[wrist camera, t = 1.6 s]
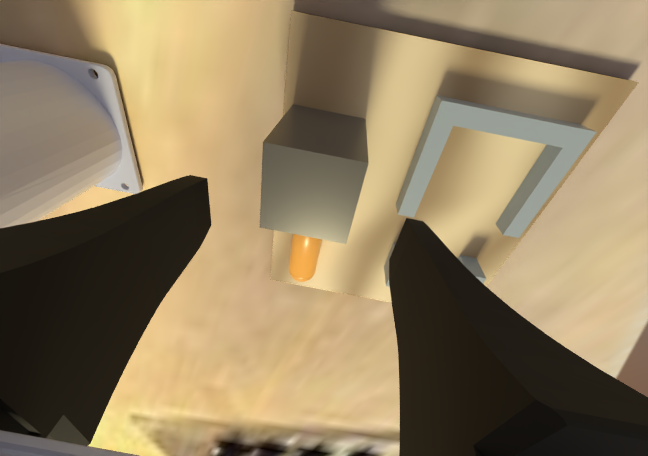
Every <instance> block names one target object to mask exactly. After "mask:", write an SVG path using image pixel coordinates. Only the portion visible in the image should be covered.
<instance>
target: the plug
mask: <svg viewBox="0 0 648 456" xmlns="http://www.w3.org/2000/svg"><path fill="white" fill-rule="evenodd" d="M368 163H369V161H368V146H367V131H366V119H364V118H359V117H354V116H349V115H344V114H340V113H335V112H330V111H325V110H320V109H315V108H310V107H305V106H300V105H295V104H293V105H292V106H291V108H290V109H289V110H288V111H287V113H286V114H285V115H284V116H283V118H282V119H281V120H280V121H279V123H278V124H277V125H276V126H275V128H274V129H273V130H272V132H271V133H270V134H269V135H268V137H267V138H266V139H265V140H264V142H263V158H262V183H261V209H260V228H265V229H271V230H276V231H281V232H286V233H291V234H293V238H292V246H291V254H290V262H289V273H290V275H291V276H292V278H293V279H295V280H296V281H299V282H305V281H308V280H310V279H311V278H312V277H313V276H314V274H315V271H316V267H317V262H318V257H319V252H320V247H321V243H322V240H328V241H333V242H338V243H343V244H346V243H347V239H348V236H349V232H350V229H351V225H352V221H353V218H354V214H355V211H356V207H357V203H358V200H359V196H360V192H361V189H362V185H363V182H364V178H365V174H366V171H367V167H368Z"/></svg>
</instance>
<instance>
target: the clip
mask: <svg viewBox="0 0 648 456" xmlns="http://www.w3.org/2000/svg"><path fill="white" fill-rule="evenodd" d="M395 244H396V243H395V242H393V245H392V247H391V250H390V252H389V255H388V257H387V260H386V262H385V265H384V272H385V282H386V286H388V287H390V286H389V259H390V256H391V254H392V252H393V249H394V247H395ZM458 259H459V260H460V262H461V263H462V264H463V265H464V266H465V267H466V268H467V269H468V270H469V271H470V272H471V273H472V274H473V275H474V276H475V277H476V278H478V279H479V280H480V281H481V282H482V283H484V281H485V280H486V277H485V275H484V273H483V271H482V269H481V267H480V265H479V263H478V260H477V258H473V257H468V256H463V255H460V256H459V257H458Z"/></svg>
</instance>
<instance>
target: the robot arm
mask: <svg viewBox="0 0 648 456" xmlns="http://www.w3.org/2000/svg"><path fill="white" fill-rule="evenodd" d="M94 70H95V71H96V72H97V74H98V77H97V76H96V75H95V73H94ZM126 184H127V185H128V186H127V185H126ZM94 186H96V187H101V188H107V189H112V190H117V191H122V192H127V193H132V194H134V195H131V196H128V197H125V198H122V199H119V200H116V201H113V202H110V203H107V204H104V205H101V206H97V207H94V208H90V209H87V210H83V211H80V212H76V213H72V214H68V215H63V216H59V217H55V218H51V219H46V220H41V219H42V218H44V217H46V216H47V215H49V214H50V213H52V212H54V211H55V210H57V209H58V208H60V207H62V206H63V205H65V204H66V203H68V202H70V201H71V200H73V199H74V198H76V197H78V196H79V195H81V194H82V193H84V192H86V191H87V190H89V189H90V188H92V187H94ZM142 189H143V187H142V183H141V179H140V174H139V170H138V166H137V162H136V158H135V154H134V150H133V145H132V141H131V137H130V133H129V129H128V125H127V121H126V116H125V112H124V108H123V104H122V100H121V96H120V91H119V87H118V83H117V79H116V76H115V73H114V71H113V70H112V69H111V68H110V67H109V66H107V65H104V64H99V63H94V62H89V61H84V60H79V59H74V58H69V57H64V56H59V55H54V54H49V53H44V52H40V51H35V50H30V49H25V48H20V47H15V46H10V45H5V44H0V456H139V455H133V454H128V453H122V452H117V451H111V450H106V449H100V448H95V447H89V446H88V445H89V444H90V443H91V441H92V438H93V436H94V434H95V431H96V429H97V427H98V425H99V422H100V420H101V418H102V416H103V414H104V411H105V409H106V407H107V405H108V403H109V400H110V398H111V396H112V394H113V392H114V390H115V388H116V385H117V383H118V381H119V379H120V377H121V375H122V373H123V371H124V369H125V367H126V365H127V363H128V361H129V359H130V357H131V355H132V353H133V352H134V350H135V348H136V346H137V344H138V342H139V340H140V338H141V336H142V335H143V333H144V331H145V329H146V327H147V325H148V324H149V322H150V320H151V318H152V317H153V315H154V313H155V311H156V310H157V308H158V306H159V305H160V303H161V302H162V300H163V298H164V297H165V295H166V294H167V293H168V291H169V290H170V288H171V287H172V286H173V284H174V283H175V281H176V280H177V279H178V277H179V276H180V275H181V273H182V272H183V270H184V269H185V268H186V266H187V265H188V263H189V262H190V261H191V259H192V258H193V256H194V255H195V254H196V252H197V251H198V249H199V248H200V246H201V244H202V242H203V241H204V239H205V237H206V235H207V233H208V231H209V229H210V226H211V216H210V205H209V193H208V182H207V178H202V177H197V176H192V175H189V176H185V177H182V178H179V179H176V180H173V181H170V182H167V183H164V184H162V185H159V186H156V187H153V188H151V189H148V190H145V191H142ZM141 191H142V192H141ZM39 220H41V221H39ZM389 286H390V293H391V301H392V307H393V314H394V321H395V328H396V335H397V343H398V354H399V382H400V456H648V397H646V396H644V395H643V394H641V393H639V392H637V391H636V390H634V389H632V388H631V387H629V386H627V385H625V384H624V383H622V382H620V381H619V380H617V379H615V378H614V377H612V376H610V375H608V374H607V373H605V372H603V371H601V370H600V369H598V368H597V367H595V366H593V365H592V364H590V363H589V362H587V361H586V360H584V359H582V358H581V357H579V356H578V355H576V354H575V353H573V352H572V351H570V350H569V349H567V348H565V347H564V346H562V345H561V344H560V343H558V342H557V341H555V340H554V339H552V338H551V337H549V336H548V335H546V334H545V333H544V332H542V331H541V330H540V329H538V328H537V327H536V326H534V325H533V324H531V323H530V322H529V321H527V320H526V319H525V318H523V317H522V316H521V315H519V314H518V313H517V312H516V311H514V310H513V309H512V308H510V307H509V306H508V305H507V304H506V303H505V302H503V301H502V300H501V299H500V298H499V297H497V296H496V295H495V294H494V293H493V292H492V291H490V290H489V289H488V288H487V287H486V286H485V285H484V284H483V283H482V282H481V281H480V280H479V279H478V278H476V277H475V276H474V275H473V274H472V273H471V272H470V271H469V270H468V269H467V268H466V267H465V266H464V265H463V264H462V263H461V262H460V260H459V259H458V258H457V257H456V256H455V255H454V254H453V253H452V252H451V251H450V250H449V249H448V247H447V246H446V245H445V244H444V243H443V242H442V241H441V240H440V239H439V237H438V236H437V235H436V234H435V233H434V232H433V231H432V230H431V229H430V227H429V226H428V225H427V224H426V223H425V222H423V221H420V220H415V219H410V218H406V220H405V222H404V225H403V227H402V230H401V232H400V234H399V237H398V239H397V242H396V244H395V247H394V249H393V252H392V254H391V256H390V259H389Z"/></svg>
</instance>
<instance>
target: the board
mask: <svg viewBox="0 0 648 456" xmlns="http://www.w3.org/2000/svg"><path fill="white" fill-rule="evenodd" d="M637 84H638V82H635V81H630V80H625V79H621V78H616V77H611V76H606V75H601V74H596V73H591V72H587V71H582V70H577V69H572V68H567V67H562V66H558V65H553V64H548V63H543V62H538V61H533V60H529V59H524V58H519V57H514V56H509V55H504V54H499V53H495V52H490V51H485V50H480V49H475V48H470V47H466V46H461V45H456V44H451V43H446V42H441V41H436V40H432V39H427V38H422V37H417V36H412V35H407V34H403V33H398V32H393V31H388V30H383V29H378V28H374V27H369V26H364V25H359V24H354V23H349V22H344V21H340V20H335V19H330V18H325V17H320V16H315V15H311V14H306V13H301V12H296V11H291V18H290V31H289V44H288V57H287V70H286V83H285V96H284V109H283V116H284V115H285V114H286V113H287V111H288V110H289V109H290V108H291V106H292V105H293V104H295V105H300V106H305V107H310V108H315V109H320V110H325V111H330V112H335V113H340V114H344V115H349V116H354V117H359V118H364V119H366V131H367V146H368V161H369V163H368V167H367V171H366V174H365V178H364V182H363V185H362V189H361V192H360V196H359V200H358V203H357V207H356V211H355V214H354V218H353V221H352V225H351V229H350V232H349V236H348V239H347V243H346V244H343V243H338V242H333V241H328V240H322V243H321V247H320V252H319V257H318V262H317V267H316V271H315V274H314V276H313V277H312V278H311V279H310V280H308V281H305V282H299V281H296V280H295V279H293V278H292V276H291V275H290V273H289V262H290V254H291V246H292V238H293V234H291V233H286V232H281V231H276V230H274V239H273V252H272V265H271V278H270V280H275V281H280V282H285V283H290V284H296V285H301V286H306V287H312V288H317V289H322V290H327V291H333V292H338V293H343V294H348V295H354V296H359V297H364V298H369V299H375V300H380V301H385V302H391V303H392V301H391V293H390V287H388V286H386V282H385V272H384V265H385V262H386V260H387V257H388V255H389V252H390V250H391V247H392V245H393V242H395V243H396V242H397V239H398V237H399V234H400V232H401V230H402V227H403V225H404V222H405V220H406V218H410V219H415V220H420V221H423V222H425V223H426V224H427V225H428V226H429V227H430V229H431V230H432V231H433V232H434V233H435V234H436V235H437V236H438V237H439V239H440V240H441V241H442V242H443V243H444V244H445V245H446V246H447V247H448V249H449V250H450V251H451V252H452V253H453V254H454V255H455V256H456V257H457V258H458V257H459V256H460V255H463V256H468V257H473V258H477V260H478V263H479V265H480V267H481V269H482V271H483V273H484V275H485V277H486V280H485V281H484V283H483V284H484V285H485V286H486V287H487V285H488V284H489V283H490V281H491V280H492V279H493V277H494V276H495V275H496V273H497V272H498V270H499V269H500V268H501V266H502V265H503V264H504V262H505V261H506V260H507V258H508V257H509V256H510V254H511V253H512V252H513V250H514V249H515V248H516V246H517V245H518V244H519V242H520V241H521V240H522V238H523V237H524V236H525V234H526V233H527V232H528V230H529V229H530V228H531V226H532V225H533V223H534V222H535V221H536V219H537V218H538V217H539V215H540V214H541V213H542V211H543V210H544V209H545V207H546V206H547V205H548V203H549V202H550V201H551V199H552V198H553V197H554V195H555V194H556V193H557V191H558V190H559V189H560V187H561V186H562V185H563V183H564V182H565V181H566V179H567V178H568V176H569V175H570V174H571V172H572V171H573V170H574V168H575V167H576V166H577V164H578V163H579V162H580V160H581V159H582V158H583V156H584V155H585V154H586V152H587V151H588V150H589V148H590V147H591V146H592V144H593V143H594V142H595V140H596V139H597V138H598V136H599V135H600V134H601V132H602V131H603V129H604V128H605V127H606V125H607V124H608V123H609V121H610V120H611V119H612V117H613V116H614V115H615V113H616V112H617V111H618V109H619V108H620V107H621V105H622V104H623V103H624V101H625V100H626V99H627V97H628V96H629V95H630V93H631V92H632V91H633V89H634V88H635V87H636V85H637ZM436 95H438V96H443V97H448V98H453V99H458V100H463V101H468V102H473V103H478V104H482V105H487V106H492V107H497V108H502V109H507V110H512V111H517V112H522V113H527V114H532V115H537V116H542V117H546V118H551V119H556V120H561V121H566V122H571V123H576V124H581V125H583V126H585V127H587V128H590V129H592V130H594V131H596V134H595V135H594V136H593V138H592V139H591V140H590V142H589V143H588V145H587V146H586V147H585V149H584V150H583V151H582V153H581V154H580V155H579V157H578V158H577V160H576V161H575V162H574V164H573V165H572V166H571V168H570V169H569V170H568V172H567V173H566V175H565V176H564V177H563V179H562V180H561V181H560V183H559V184H558V185H557V187H556V188H555V189H554V191H553V192H552V194H551V195H550V196H549V198H548V199H547V200H546V202H545V203H544V204H543V206H542V207H541V209H540V210H539V211H538V213H537V214H536V215H535V217H534V218H533V219H532V221H531V222H530V224H529V225H528V226H527V228H526V229H525V230H524V232H523V233H522V234H521V236H520V237H519V238H516V237H511V236H505V235H503V234H502V233H501V231H500V230H499V228H498V227H497V225H496V222H497V221H498V219H499V218H500V216H501V215H502V213H503V211H504V210H505V208H506V207H507V205H508V204H509V202H510V201H511V199H512V198H513V196H514V194H515V193H516V191H517V190H518V188H519V187H520V185H521V184H522V182H523V181H524V179H525V177H526V176H527V174H528V173H529V171H530V170H531V168H532V167H533V165H534V164H535V162H536V160H537V159H538V157H539V156H540V154H541V153H542V151H543V150H544V148H545V147H546V145H547V144H542V143H537V142H532V141H527V140H522V139H517V138H512V137H507V136H502V135H497V134H492V133H487V132H482V131H477V130H472V129H467V128H462V127H457V126H453V128H452V130H451V132H450V135H449V137H448V139H447V142H446V144H445V146H444V149H443V151H442V153H441V156H440V158H439V160H438V163H437V165H436V167H435V169H434V172H433V174H432V176H431V179H430V181H429V183H428V186H427V188H426V190H425V193H424V195H423V197H422V200H421V202H420V204H419V207H418V209H417V211H416V214H415V216H414V218H413V217H408V216H403V215H398V213H397V208H396V202H397V200H398V197H399V194H400V192H401V189H402V186H403V184H404V181H405V178H406V175H407V173H408V170H409V167H410V165H411V162H412V159H413V157H414V154H415V151H416V148H417V146H418V143H419V140H420V138H421V135H422V132H423V130H424V127H425V124H426V122H427V119H428V116H429V113H430V111H431V108H432V105H433V103H434V100H435V97H436Z"/></svg>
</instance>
